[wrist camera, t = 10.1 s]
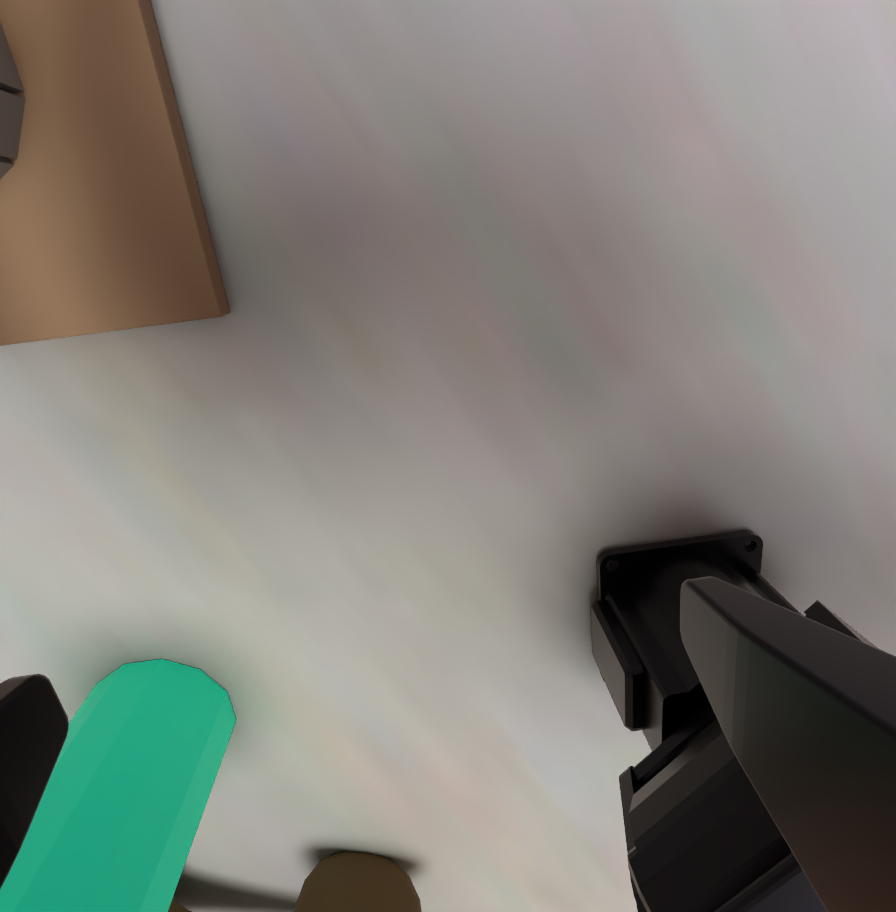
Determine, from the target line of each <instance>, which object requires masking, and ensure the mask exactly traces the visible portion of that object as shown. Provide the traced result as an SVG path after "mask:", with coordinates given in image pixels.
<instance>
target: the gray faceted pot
mask: <svg viewBox="0 0 896 912" xmlns="http://www.w3.org/2000/svg"><path fill="white" fill-rule="evenodd" d="M17 92H24V88H23V85H22V82H21V79H20V76H19V73H18V70H17V68H16V65H15V62H14V59H13V56H12V53H11V50H10V47H9V45H8V42H7V39H6V36H5V33H4V30H3V27H2V24H1V22H0V179H1V178H2V177H3V176H4V175H5V174H6V173H7V172H8V171H9V170H10V169H11V168H12V167H13V166H14V164H13V163H12V162H11V161H10V160H9V159H8V158H7V157H9V158H14V159H17V156H18V149H19V142H20V135H21V128H22V121H23V114H24V107H25V100H26V99H24V98H22V97H20V96H17V95H15V94H13V93H17Z"/></svg>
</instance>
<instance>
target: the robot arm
mask: <svg viewBox="0 0 896 912" xmlns="http://www.w3.org/2000/svg"><path fill="white" fill-rule="evenodd" d="M748 541H751V542H750V544H749V545H748V546H745V544H746V543H747V542H748ZM744 546H745V547H744ZM762 549H763V542H762V539H761V538H760V537H759V536H758V535H757V534H756V533H754V532H753V531H751V530H743V531H736V532H729V533H722V534H715V535H708V536H701V537H694V538H686V539H679V540H672V541H665V542H658V543H651V544H644V545H636V546H629V547H622V548H615V549H608V550H605V551H603V552H602V553H601V554H600V555H599V556H598V558H597V590H598V600H595V601H594V602H593V604H592V605H591V631H592V653H593V656H594V658H595V660H596V663H597V665H598V667H599V669H600V673H601V676H602V678H603V680H604V681H605V683H606V685H607V688H608V690H609V692H610V694H611V697H612V699H613V701H614V703H615V706H616V708H617V710H618V712H619V715H620V717H621V719H622V721H623V724H624V726H625V727H627V728H628V729H629V730H631V731H638V730H642V731H643V733H644V735H645V737H646V739H647V741H648V744H649V746H650V748H651V750H652V752H651V753H650V754H649V755H648V756H646V757H645V758H644V759H643V760H642V761H641V762H640V763H639V764H637V765H636V766H635V767H633V766H630V767H629V768H628V769H627V770H626V771H624V772H623V773H622V774H621V775H620V776H619V782H620V791H621V799H622V808H623V817H624V825H625V834H626V842H627V851H628V867H629V870H630V877H631V883H632V888H633V893H634V897H635V900H636V903H637V909H638V912H896V657H895V656H893V655H891V654H889V653H886V652H884V651H882V650H879V649H878V648H877V647H876V646H874V645H873V644H872V643H871V642H869V641H868V640H867V639H866V638H864V637H863V636H862V635H861V634H859V633H858V632H857V631H856V630H854V629H853V628H852V627H851V626H849V625H848V624H847V623H846V622H844V621H843V620H842V619H841V618H839V617H838V616H837V615H836V614H834V613H833V612H832V611H831V610H829V609H828V608H827V607H826V606H824V605H823V604H822V603H821V602H819V601H818V600H817V601H816V602H815V603H814V604H813V605H811V606H810V607H809V608H808V609H807V610H806V611H805V612H804V613H805V614H806V616H805V617H804V616H803V615H802V614H801V613H800V612H799V611H798V610H797V609H795V608H794V607H793V606H792V605H791V604H790V603H789V602H788V601H787V600H786V599H785V598H784V597H783V596H782V595H781V594H780V593H779V592H778V591H777V590H776V589H775V588H774V587H772V586H771V585H770V584H769V583H768V582H767V581H766V580H765V579H764V578H763V577H762V576H761V575H760V570H761V559H762ZM611 560H615V562H614V563H613V564H612V565H610V566H606V564H607V563H608V562H609V561H611ZM68 729H69V722H68V717H67V715H66V712H65V710H64V708H63V706H62V704H61V702H60V700H59V698H58V696H57V694H56V692H55V690H54V688H53V686H52V684H51V682H50V680H49V679H48V678H47V677H46V676H44V675H41V674H33V675H26V676H19V677H13V678H10V679H8V680H6V681H4V682H2V683H0V889H1V887H2V885H3V884H4V882H5V880H6V878H7V876H8V874H9V872H10V870H11V868H12V866H13V863H14V861H15V859H16V857H17V855H18V853H19V851H20V849H21V846H22V844H23V842H24V840H25V837H26V835H27V833H28V830H29V828H30V825H31V823H32V821H33V818H34V816H35V813H36V811H37V808H38V806H39V803H40V801H41V799H42V796H43V794H44V791H45V789H46V786H47V784H48V781H49V779H50V777H51V774H52V772H53V769H54V767H55V764H56V762H57V760H58V757H59V755H60V752H61V750H62V747H63V745H64V742H65V740H66V737H67V734H68Z"/></svg>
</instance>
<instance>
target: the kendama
mask: <svg viewBox="0 0 896 912" xmlns="http://www.w3.org/2000/svg"><path fill="white" fill-rule="evenodd" d="M168 912H191V911H189V910H187V909H186V908H184V907H182V906H181V905H180V904H179V903H178V902H177V901H176V900H175V899H174V897H173V898H172V901H171V904H170V907H169V910H168ZM294 912H421V905H420V899H419V897H418V894H417V892H416V890H415V888H414V886H413V884H412V882H411V880H410V877H409V875H408V874H406V873H405V872H404V871H403V870H402V869H401V868H399V867H398V866H397V865H396V864H395V863H394V862H392V861H391V860H390V859H388V858H385V857H381V856H377V855H373V854H369V853H360V852H347V851H342V852H340V853H337V854H335V855H332V856H330V857H328V858H325V859H323V860H321V861H320V863H319V864H318V865H317V866H316V867H315V869H314V870H313V871H312V872H311V873H310V875H309V876H308V877H307V878H306V880H305V881H304V884H303V887H302V889H301V892H300V895H299V898H298V901H297V903H296V906H295V909H294Z"/></svg>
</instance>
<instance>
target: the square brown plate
mask: <svg viewBox="0 0 896 912" xmlns="http://www.w3.org/2000/svg"><path fill="white" fill-rule="evenodd" d="M0 22H1V24H2V27H3V30H4V33H5V36H6V39H7V42H8V45H9V47H10V50H11V53H12V56H13V59H14V62H15V65H16V68H17V70H18V73H19V76H20V79H21V82H22V85H23V88H24V92H17V93H13V94H15V95H17V96H20V97H22V98H24V99H26V100H25V107H24V114H23V121H22V128H21V135H20V142H19V149H18V156H17V159H14V158H9V157H7V158H8V159H9V160H10V161H11V162H12V163H13V164H14V166H13V167H12V168H11V169H10V170H9V171H8V172H7V173H6V174H5V175H4V176H3V177H2V178H1V179H0V346H1V345H9V344H16V343H24V342H31V341H39V340H47V339H54V338H62V337H70V336H77V335H85V334H92V333H100V332H108V331H115V330H123V329H130V328H138V327H146V326H153V325H161V324H169V323H176V322H184V321H191V320H199V319H207V318H214V317H221V316H223V315H226V314H228V313H230V311H229V307H228V303H227V299H226V295H225V291H224V287H223V283H222V279H221V275H220V271H219V268H218V264H217V260H216V256H215V252H214V248H213V244H212V240H211V236H210V232H209V228H208V224H207V221H206V217H205V213H204V209H203V205H202V201H201V197H200V193H199V189H198V185H197V181H196V178H195V174H194V170H193V166H192V162H191V158H190V154H189V150H188V146H187V142H186V138H185V135H184V131H183V127H182V123H181V119H180V115H179V111H178V107H177V103H176V99H175V95H174V92H173V88H172V84H171V80H170V76H169V72H168V68H167V64H166V60H165V56H164V52H163V49H162V45H161V41H160V37H159V33H158V29H157V25H156V21H155V17H154V13H153V9H152V6H151V2H150V0H0Z"/></svg>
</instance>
